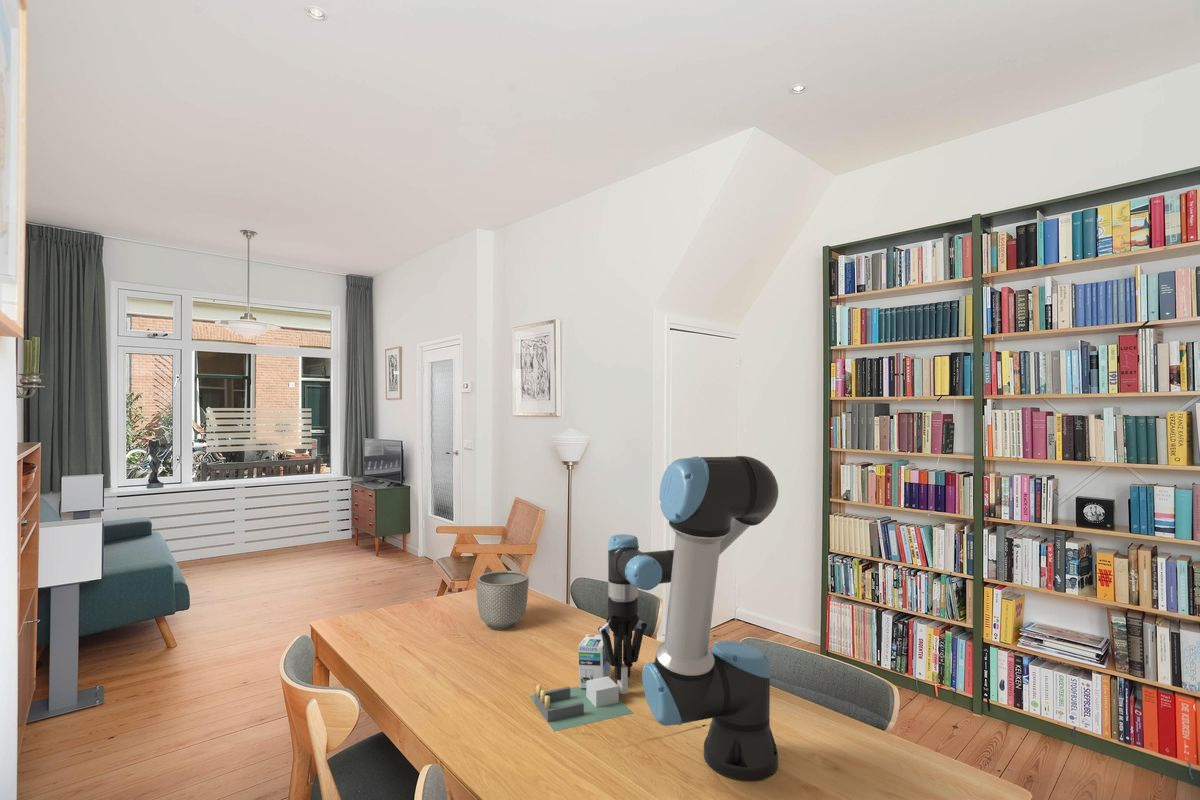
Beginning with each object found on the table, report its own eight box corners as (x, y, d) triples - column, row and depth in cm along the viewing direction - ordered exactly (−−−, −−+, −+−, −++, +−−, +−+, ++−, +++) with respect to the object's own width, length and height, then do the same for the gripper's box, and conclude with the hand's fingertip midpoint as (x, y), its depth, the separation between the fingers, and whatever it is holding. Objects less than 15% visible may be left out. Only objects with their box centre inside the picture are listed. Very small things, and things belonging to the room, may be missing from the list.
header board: (633, 715, 145) (633, 691, 145) (553, 734, 137) (553, 708, 137) (601, 683, 161) (601, 662, 161) (528, 698, 153) (528, 676, 153)
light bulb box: (604, 690, 155) (603, 646, 156) (578, 689, 157) (577, 645, 158) (611, 675, 166) (610, 634, 167) (587, 674, 167) (586, 633, 168)
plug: (618, 702, 150) (618, 686, 150) (596, 707, 148) (596, 690, 148) (608, 692, 155) (608, 676, 156) (586, 696, 153) (586, 680, 153)
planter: (524, 635, 195) (525, 585, 195) (470, 635, 195) (471, 584, 195) (531, 616, 212) (531, 570, 212) (481, 616, 212) (482, 570, 212)
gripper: (639, 590, 160) (638, 680, 160) (593, 596, 155) (592, 689, 155) (652, 598, 153) (652, 692, 153) (605, 605, 148) (604, 703, 148)
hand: (622, 691), depth 154 cm, fingers closed
